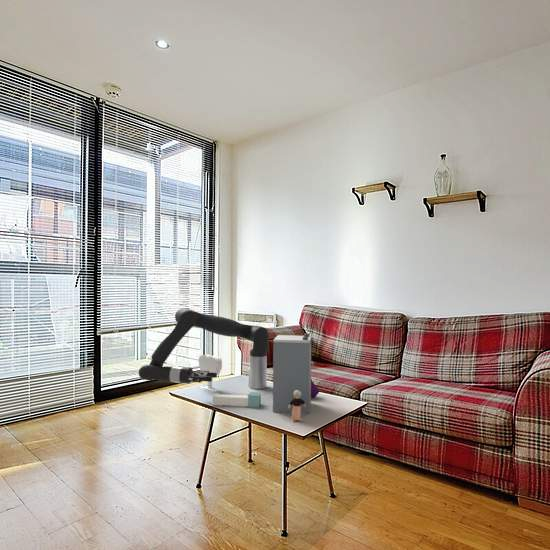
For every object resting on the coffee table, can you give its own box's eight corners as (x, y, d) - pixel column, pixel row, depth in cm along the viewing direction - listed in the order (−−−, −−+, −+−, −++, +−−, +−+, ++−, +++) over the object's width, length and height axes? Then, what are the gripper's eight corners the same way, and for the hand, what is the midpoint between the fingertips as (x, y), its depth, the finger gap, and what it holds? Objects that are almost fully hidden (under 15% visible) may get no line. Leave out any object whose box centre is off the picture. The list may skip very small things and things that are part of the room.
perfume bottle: (299, 397, 204) (299, 361, 204) (308, 394, 209) (308, 359, 209) (311, 400, 199) (311, 363, 199) (320, 397, 204) (320, 361, 204)
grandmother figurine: (291, 423, 166) (291, 392, 166) (287, 420, 170) (287, 389, 170) (307, 420, 169) (307, 390, 170) (303, 417, 173) (303, 388, 173)
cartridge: (212, 405, 189) (212, 393, 189) (215, 402, 195) (215, 390, 195) (258, 407, 187) (258, 395, 187) (260, 404, 192) (260, 392, 192)
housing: (272, 411, 180) (273, 337, 181) (277, 401, 196) (278, 332, 197) (309, 413, 178) (309, 337, 179) (310, 403, 194) (311, 333, 195)
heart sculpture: (222, 390, 215) (223, 356, 215) (215, 392, 211) (215, 357, 212) (204, 385, 226) (204, 352, 226) (197, 387, 222) (197, 354, 222)
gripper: (176, 370, 188) (210, 372, 186) (186, 364, 202) (218, 366, 200) (175, 386, 188) (209, 388, 186) (185, 379, 202) (217, 381, 200)
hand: (214, 377), depth 193 cm, fingers open, 8 cm apart
